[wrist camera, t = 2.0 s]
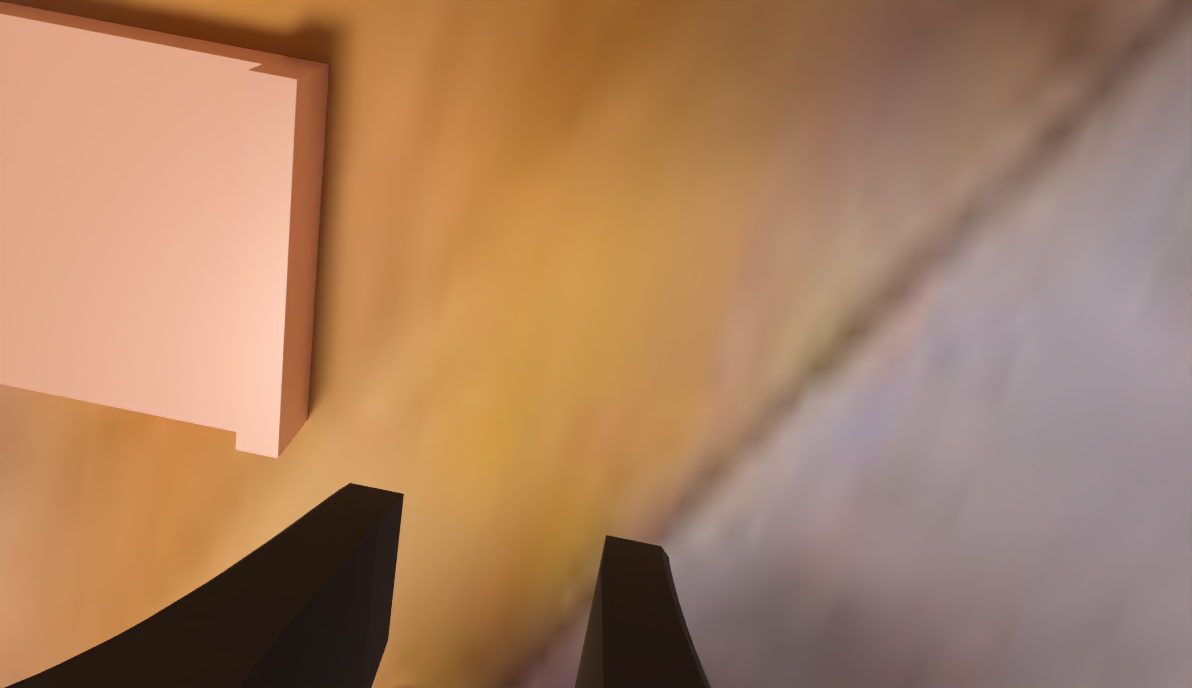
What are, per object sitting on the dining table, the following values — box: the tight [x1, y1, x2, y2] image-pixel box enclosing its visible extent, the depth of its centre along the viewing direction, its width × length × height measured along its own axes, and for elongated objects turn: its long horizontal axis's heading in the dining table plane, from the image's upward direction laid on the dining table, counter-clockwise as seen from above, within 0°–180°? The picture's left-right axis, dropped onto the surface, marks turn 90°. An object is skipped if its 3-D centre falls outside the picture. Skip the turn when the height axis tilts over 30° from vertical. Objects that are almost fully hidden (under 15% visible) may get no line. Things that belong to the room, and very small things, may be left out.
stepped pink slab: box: [0, 1, 329, 458], centre depth 19 cm, size 9×7×2 cm
